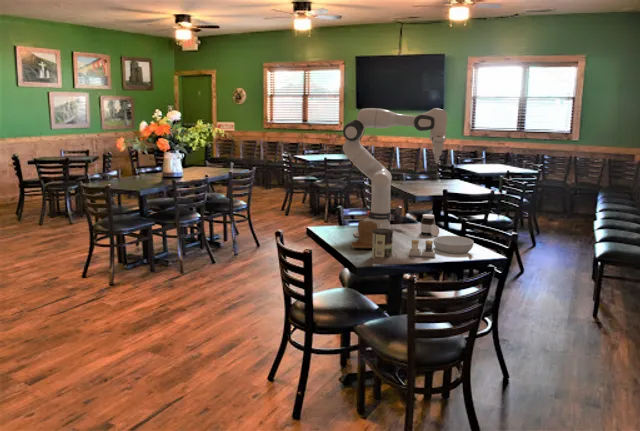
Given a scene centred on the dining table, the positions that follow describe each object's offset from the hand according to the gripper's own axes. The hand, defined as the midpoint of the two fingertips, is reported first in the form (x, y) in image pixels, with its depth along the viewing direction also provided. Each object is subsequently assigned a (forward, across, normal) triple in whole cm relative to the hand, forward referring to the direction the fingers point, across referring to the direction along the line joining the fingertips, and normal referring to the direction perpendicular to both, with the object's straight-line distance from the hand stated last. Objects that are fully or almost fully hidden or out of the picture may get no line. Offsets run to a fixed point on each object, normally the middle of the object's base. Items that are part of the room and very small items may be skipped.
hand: (436, 162), depth 317 cm
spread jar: (+45, -14, 0) cm, 47 cm away
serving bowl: (+45, +26, +10) cm, 53 cm away
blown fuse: (+44, +41, -4) cm, 60 cm away
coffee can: (+45, +44, -28) cm, 69 cm away
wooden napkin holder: (+45, +26, -37) cm, 64 cm away
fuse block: (+45, +41, -8) cm, 62 cm away
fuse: (+44, +41, -11) cm, 61 cm away
